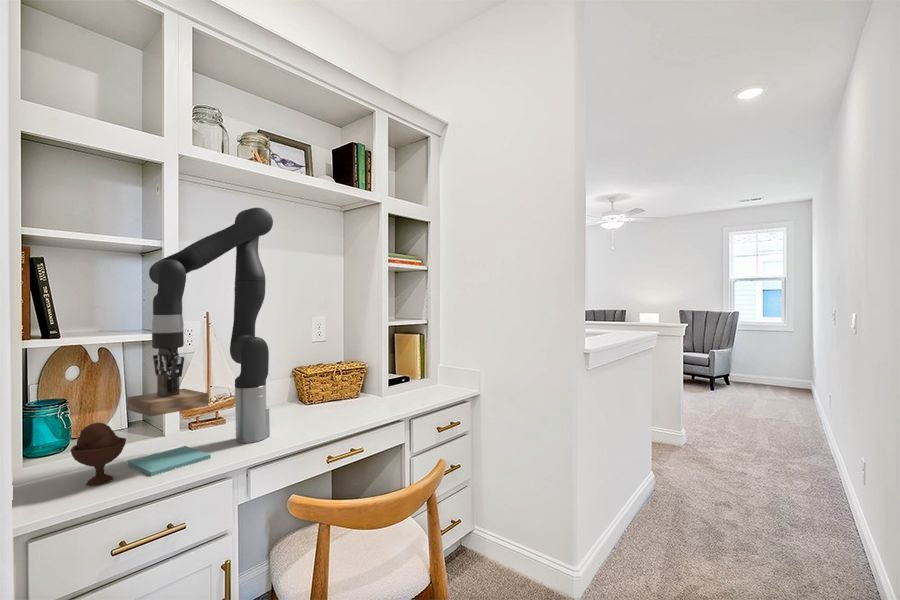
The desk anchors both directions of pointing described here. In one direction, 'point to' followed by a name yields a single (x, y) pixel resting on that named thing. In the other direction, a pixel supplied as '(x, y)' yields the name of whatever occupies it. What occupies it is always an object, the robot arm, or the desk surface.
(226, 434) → the desk surface
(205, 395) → the walnut cover
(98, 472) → the ice cream bowl
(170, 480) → the desk surface
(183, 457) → the teal mat
